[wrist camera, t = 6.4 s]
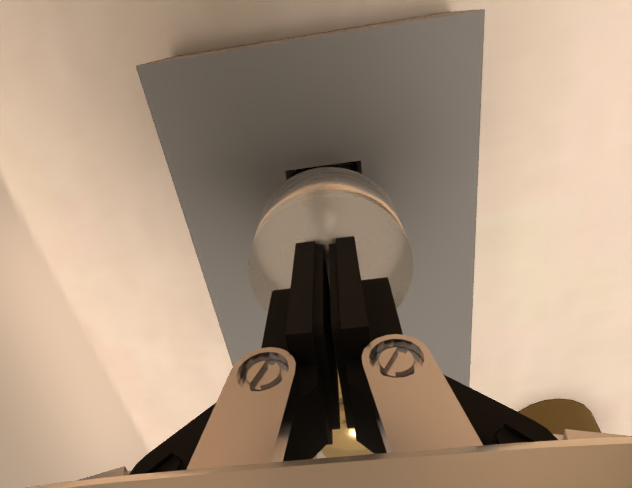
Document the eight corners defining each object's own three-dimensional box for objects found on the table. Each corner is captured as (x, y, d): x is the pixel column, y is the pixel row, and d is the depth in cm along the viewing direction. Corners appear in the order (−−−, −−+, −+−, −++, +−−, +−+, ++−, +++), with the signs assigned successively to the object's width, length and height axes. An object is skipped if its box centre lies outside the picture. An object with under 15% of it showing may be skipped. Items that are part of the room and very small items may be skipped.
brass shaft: (316, 315, 20) (314, 423, 14) (370, 308, 20) (389, 416, 14) (323, 355, 21) (324, 469, 16) (375, 350, 21) (394, 463, 15)
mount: (171, 57, 18) (135, 65, 15) (451, 11, 17) (484, 9, 14) (281, 443, 30) (275, 498, 27) (447, 428, 29) (465, 484, 26)
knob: (260, 146, 17) (230, 208, 11) (379, 129, 16) (410, 185, 11) (282, 249, 19) (266, 344, 13) (387, 236, 19) (416, 328, 13)
